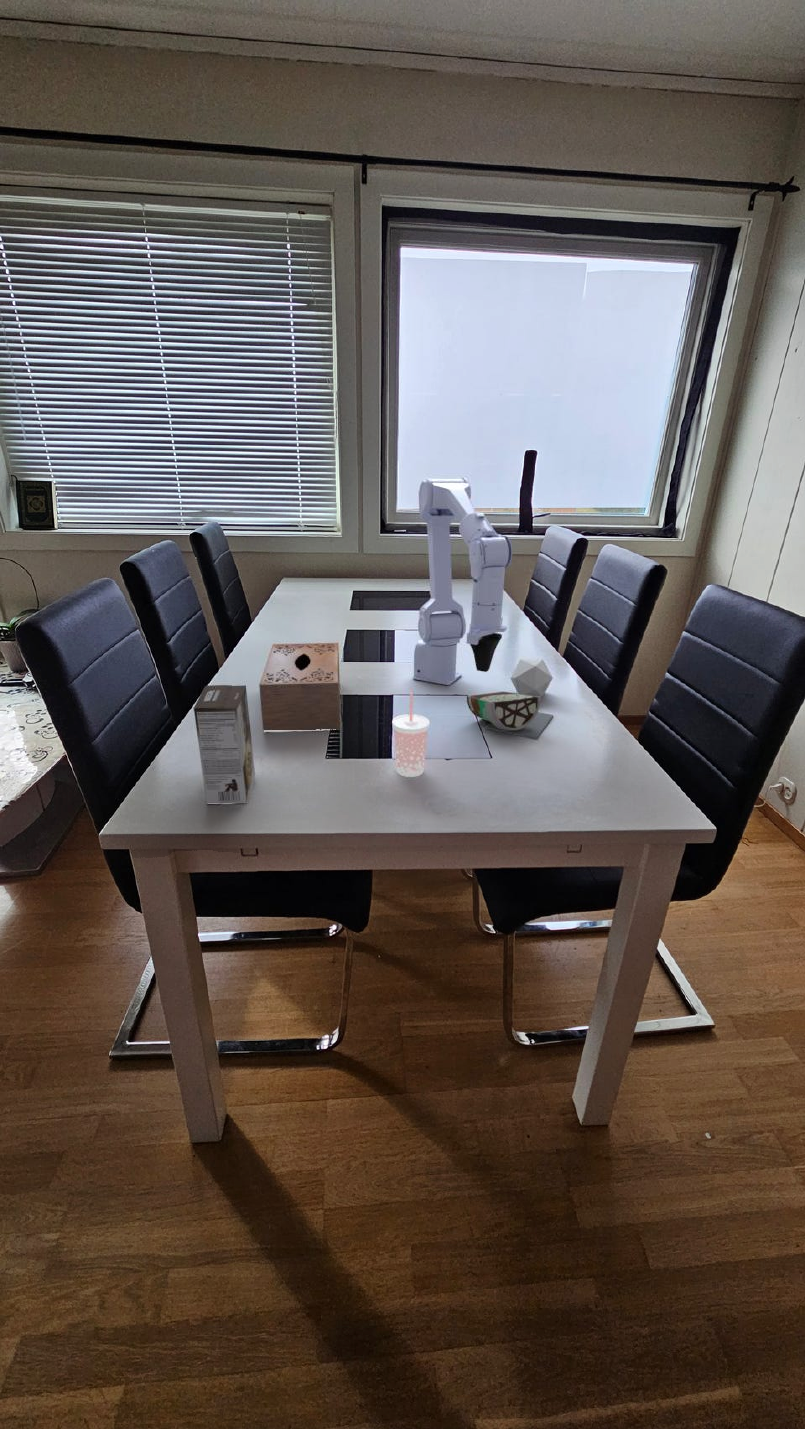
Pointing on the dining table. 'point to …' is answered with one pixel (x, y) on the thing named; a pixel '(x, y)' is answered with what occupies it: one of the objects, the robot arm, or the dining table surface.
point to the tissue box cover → (301, 687)
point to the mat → (528, 726)
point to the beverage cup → (410, 742)
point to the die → (531, 677)
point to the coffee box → (225, 743)
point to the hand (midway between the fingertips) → (482, 670)
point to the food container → (505, 709)
